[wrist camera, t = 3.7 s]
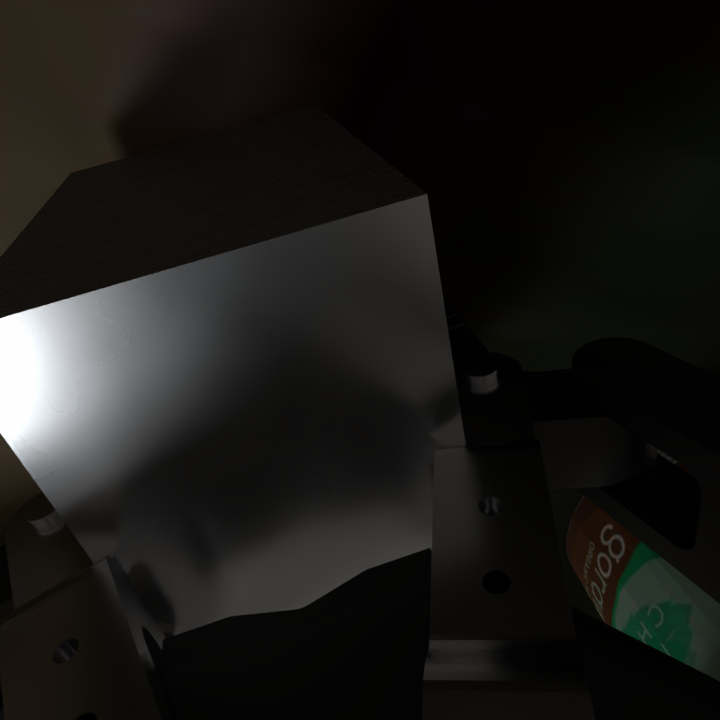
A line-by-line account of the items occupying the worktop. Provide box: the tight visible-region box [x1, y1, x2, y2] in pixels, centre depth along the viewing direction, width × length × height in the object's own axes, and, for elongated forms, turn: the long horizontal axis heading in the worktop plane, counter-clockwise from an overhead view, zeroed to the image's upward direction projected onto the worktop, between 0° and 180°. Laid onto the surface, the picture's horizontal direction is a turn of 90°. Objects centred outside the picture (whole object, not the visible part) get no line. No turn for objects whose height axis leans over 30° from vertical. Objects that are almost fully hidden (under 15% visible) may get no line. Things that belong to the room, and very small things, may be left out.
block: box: [0, 106, 464, 638], centre depth 11 cm, size 9×5×7 cm, turn 13°
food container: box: [566, 449, 720, 681], centre depth 19 cm, size 12×6×10 cm, turn 16°
